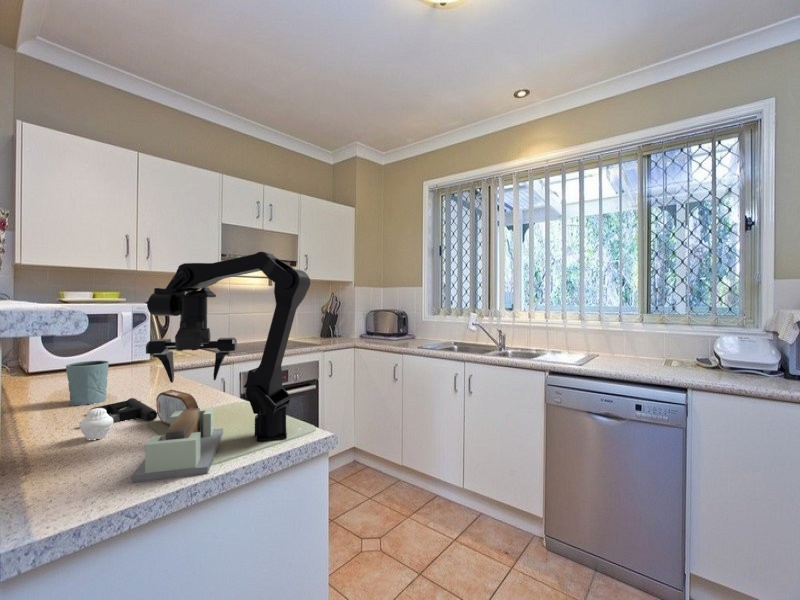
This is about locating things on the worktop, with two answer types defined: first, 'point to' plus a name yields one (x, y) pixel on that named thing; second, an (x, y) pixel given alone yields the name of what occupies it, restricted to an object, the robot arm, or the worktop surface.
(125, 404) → the door handle
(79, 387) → the teal plant pot
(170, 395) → the tin
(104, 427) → the muffin
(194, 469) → the post frame
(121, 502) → the worktop surface
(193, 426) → the rail
